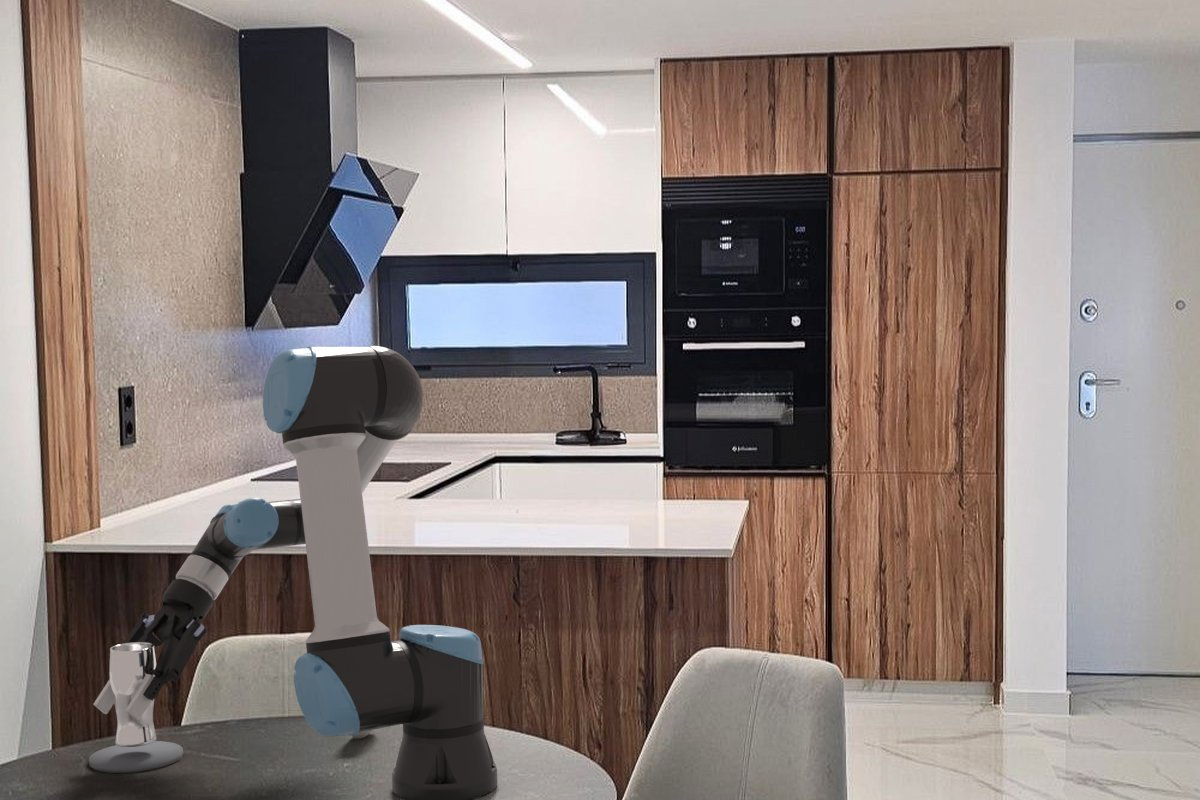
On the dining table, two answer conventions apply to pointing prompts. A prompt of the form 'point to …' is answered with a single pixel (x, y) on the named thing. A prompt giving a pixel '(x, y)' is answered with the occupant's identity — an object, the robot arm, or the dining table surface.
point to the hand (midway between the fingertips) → (116, 712)
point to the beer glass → (131, 691)
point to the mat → (135, 757)
